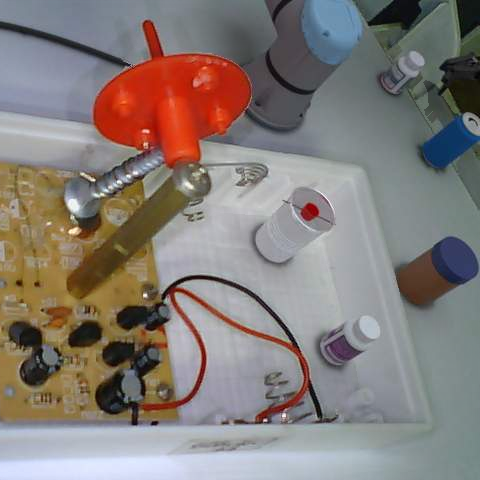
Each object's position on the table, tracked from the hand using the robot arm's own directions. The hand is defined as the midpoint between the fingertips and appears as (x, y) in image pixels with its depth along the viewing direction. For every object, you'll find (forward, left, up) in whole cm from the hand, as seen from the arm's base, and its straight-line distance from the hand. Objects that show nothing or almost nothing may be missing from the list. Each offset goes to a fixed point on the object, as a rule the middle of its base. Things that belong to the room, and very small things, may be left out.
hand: (468, 111), depth 164 cm
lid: (-19, -39, +2) cm, 43 cm away
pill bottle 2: (-10, +11, -9) cm, 18 cm away
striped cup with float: (-49, -35, -9) cm, 61 cm away
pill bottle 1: (-41, -53, -9) cm, 68 cm away
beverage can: (-4, -7, -9) cm, 12 cm away
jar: (-19, -39, -9) cm, 44 cm away
